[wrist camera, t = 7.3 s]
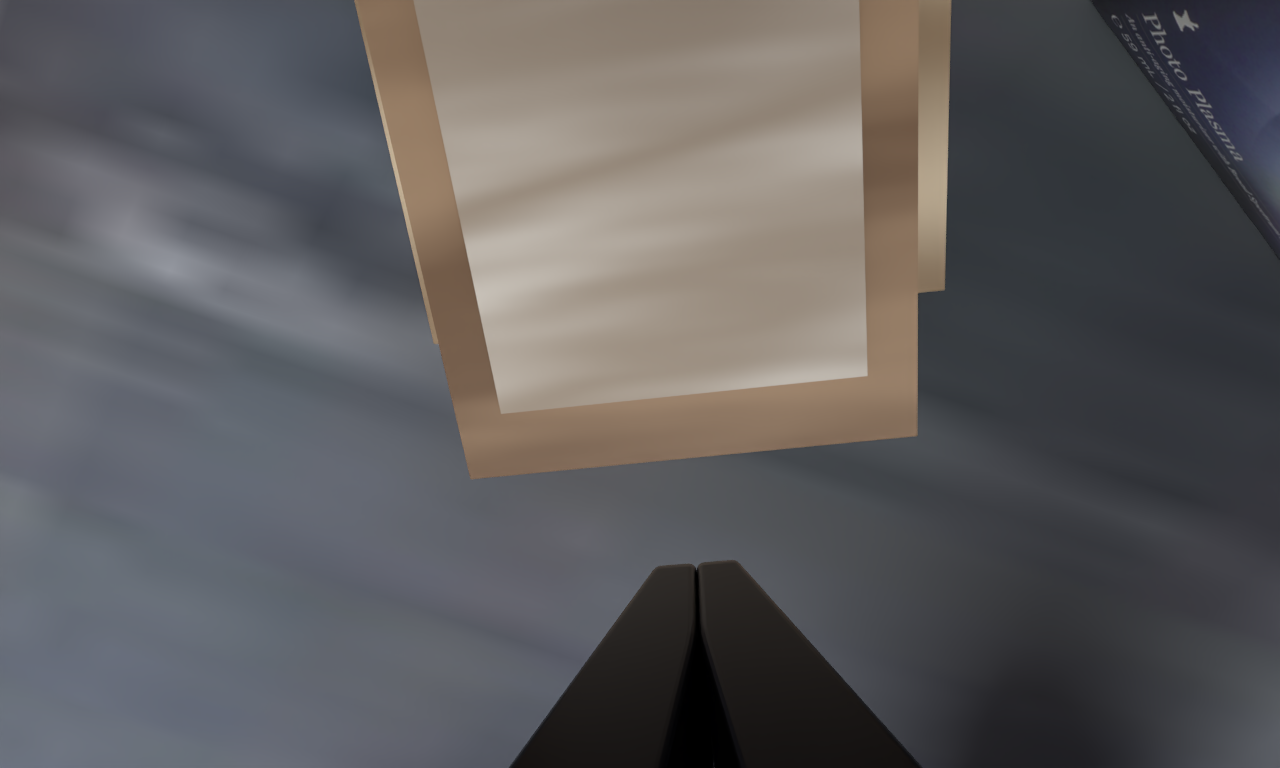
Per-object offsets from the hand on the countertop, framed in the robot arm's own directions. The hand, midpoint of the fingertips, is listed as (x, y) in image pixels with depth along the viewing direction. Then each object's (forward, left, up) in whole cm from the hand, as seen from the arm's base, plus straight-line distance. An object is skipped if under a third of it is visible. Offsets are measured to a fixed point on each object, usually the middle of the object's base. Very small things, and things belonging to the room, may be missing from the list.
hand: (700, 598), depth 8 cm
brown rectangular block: (-2, 0, -10) cm, 10 cm away
